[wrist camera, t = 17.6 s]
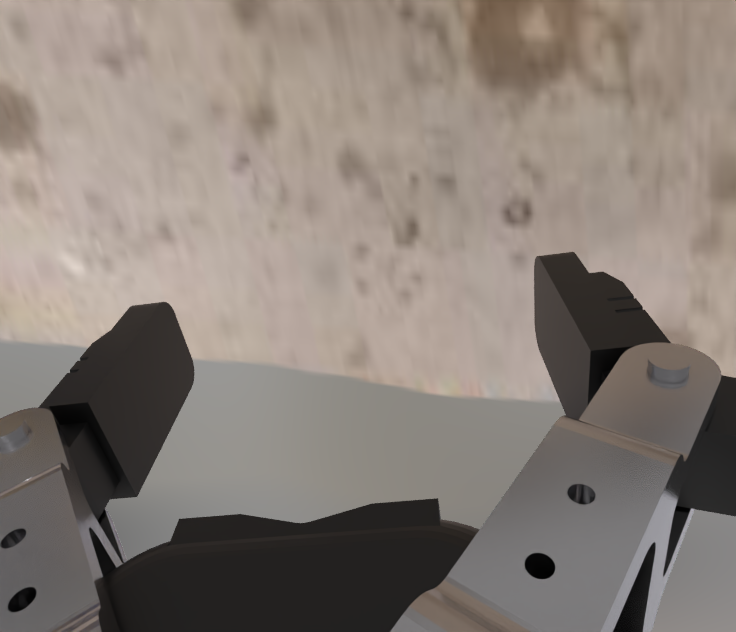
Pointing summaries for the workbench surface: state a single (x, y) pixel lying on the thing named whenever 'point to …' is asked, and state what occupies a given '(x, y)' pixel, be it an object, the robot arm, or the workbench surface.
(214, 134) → the workbench surface
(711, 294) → the workbench surface
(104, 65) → the workbench surface
